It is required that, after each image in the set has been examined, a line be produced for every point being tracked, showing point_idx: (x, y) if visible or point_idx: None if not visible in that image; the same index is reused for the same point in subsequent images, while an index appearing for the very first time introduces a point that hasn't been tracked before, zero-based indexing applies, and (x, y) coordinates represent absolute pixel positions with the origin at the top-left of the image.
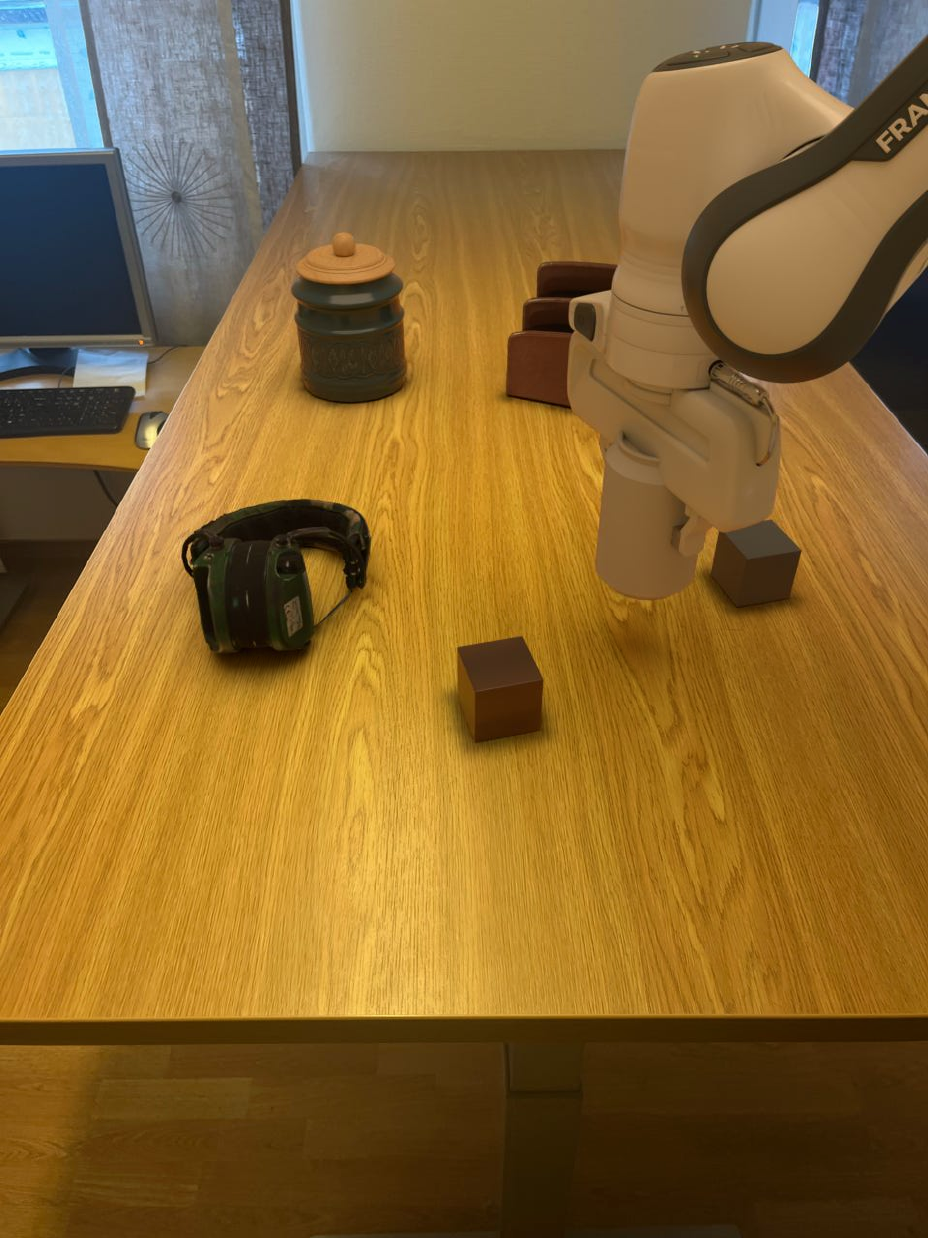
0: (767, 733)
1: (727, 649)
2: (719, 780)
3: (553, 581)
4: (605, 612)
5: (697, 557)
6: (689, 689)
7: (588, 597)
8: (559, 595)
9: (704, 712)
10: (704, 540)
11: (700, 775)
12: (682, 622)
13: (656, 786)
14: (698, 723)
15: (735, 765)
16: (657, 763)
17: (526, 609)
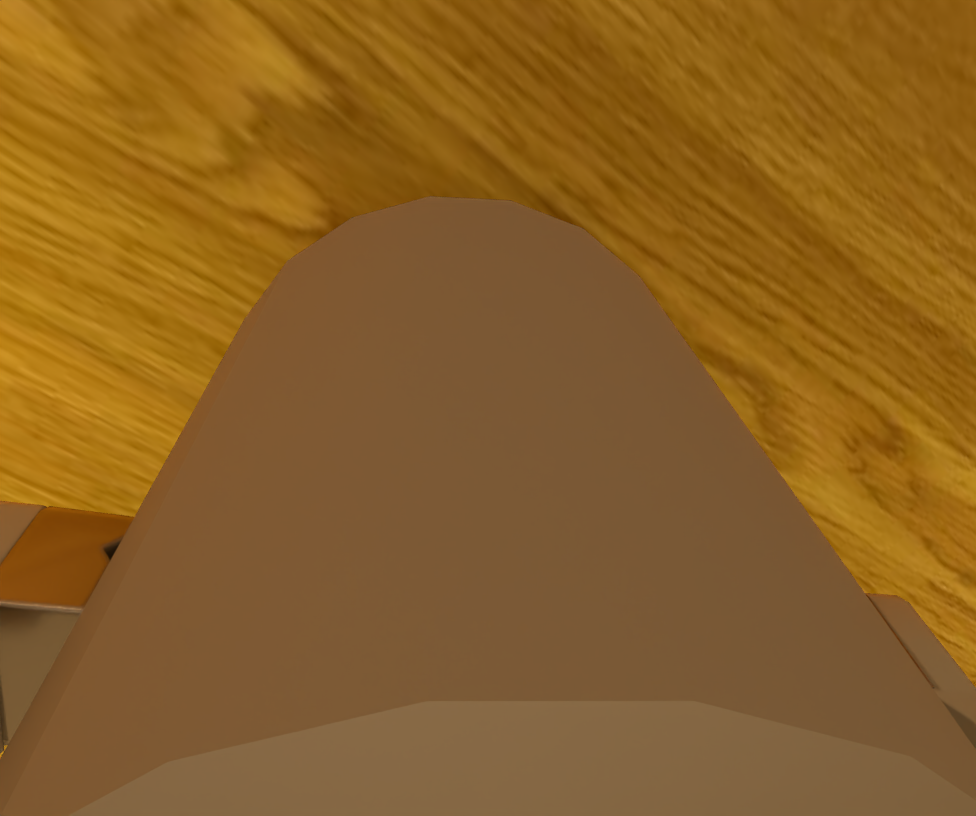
0: (967, 226)
1: (661, 18)
2: (948, 441)
3: (6, 277)
4: (257, 241)
5: (666, 314)
6: (701, 278)
7: (151, 234)
8: (96, 310)
9: (789, 310)
10: (933, 637)
11: (905, 464)
12: (451, 41)
13: (848, 555)
14: (802, 353)
15: (954, 379)
16: (809, 515)
17: (122, 436)
